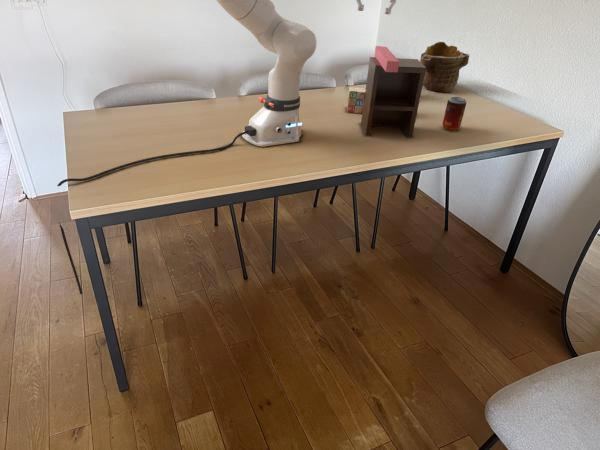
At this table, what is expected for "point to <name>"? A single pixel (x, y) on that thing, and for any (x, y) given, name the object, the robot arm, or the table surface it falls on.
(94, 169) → the table surface
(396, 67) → the pink block
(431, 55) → the brown wicker basket
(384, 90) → the walnut shelf
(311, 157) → the table surface
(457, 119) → the soda can
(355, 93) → the stack of blocks
